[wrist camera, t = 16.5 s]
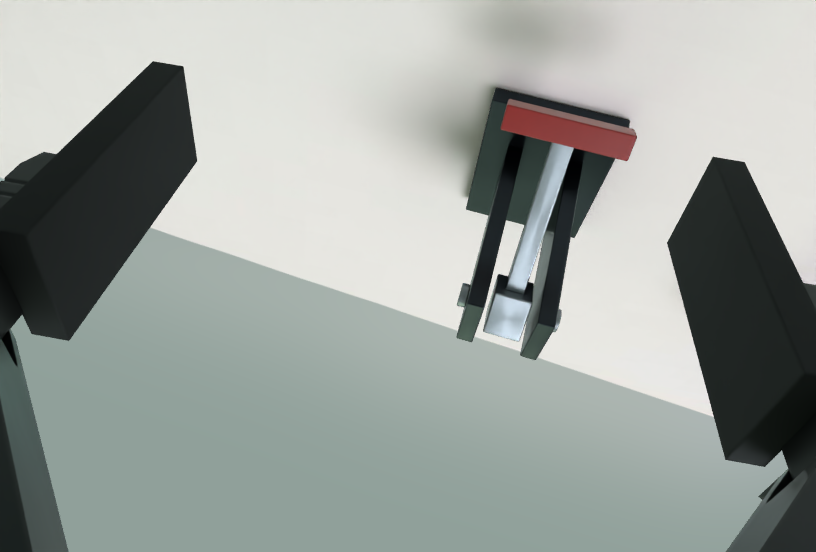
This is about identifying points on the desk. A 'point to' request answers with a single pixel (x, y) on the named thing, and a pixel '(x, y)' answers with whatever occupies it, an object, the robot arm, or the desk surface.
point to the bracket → (511, 199)
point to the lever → (545, 199)
